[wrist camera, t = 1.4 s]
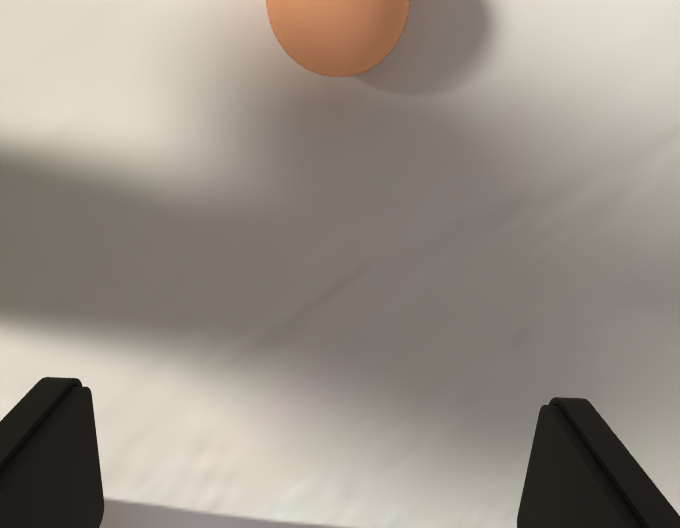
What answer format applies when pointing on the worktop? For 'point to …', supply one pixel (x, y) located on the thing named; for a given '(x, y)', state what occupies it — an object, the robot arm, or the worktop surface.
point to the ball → (337, 32)
